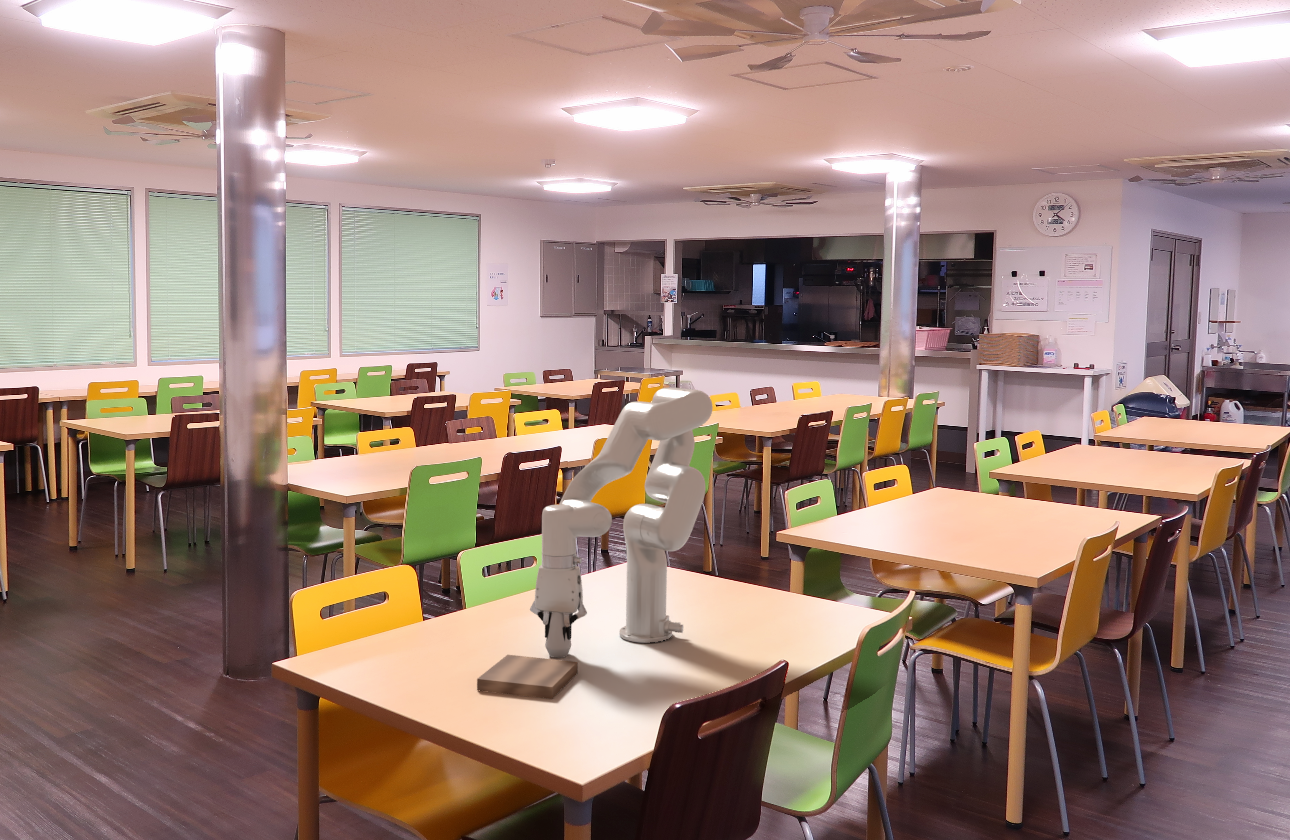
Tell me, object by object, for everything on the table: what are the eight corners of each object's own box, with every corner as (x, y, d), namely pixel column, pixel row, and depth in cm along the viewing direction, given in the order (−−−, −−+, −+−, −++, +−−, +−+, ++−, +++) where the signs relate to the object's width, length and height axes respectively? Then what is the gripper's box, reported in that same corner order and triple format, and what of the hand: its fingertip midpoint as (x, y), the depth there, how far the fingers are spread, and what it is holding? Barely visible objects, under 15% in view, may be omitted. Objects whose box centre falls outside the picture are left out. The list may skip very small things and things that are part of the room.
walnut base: (577, 675, 220) (577, 661, 220) (552, 701, 205) (552, 687, 205) (507, 668, 225) (507, 654, 224) (477, 693, 209) (477, 678, 209)
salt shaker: (560, 661, 228) (561, 603, 227) (539, 656, 231) (540, 599, 230) (576, 654, 233) (576, 597, 232) (555, 649, 236) (556, 593, 235)
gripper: (598, 560, 232) (598, 640, 233) (530, 554, 236) (529, 633, 237) (588, 567, 224) (587, 650, 226) (517, 562, 229) (517, 643, 230)
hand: (558, 641), depth 232 cm, fingers closed on salt shaker, 3 cm apart
